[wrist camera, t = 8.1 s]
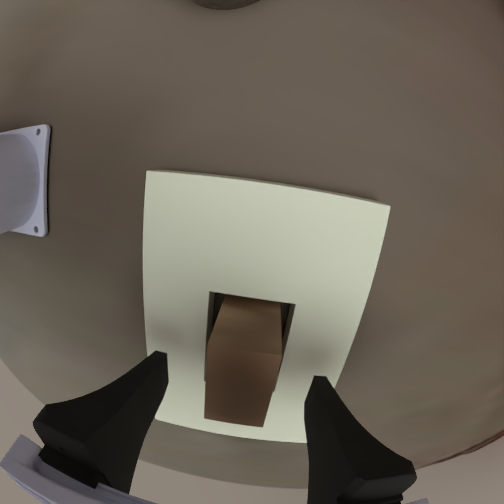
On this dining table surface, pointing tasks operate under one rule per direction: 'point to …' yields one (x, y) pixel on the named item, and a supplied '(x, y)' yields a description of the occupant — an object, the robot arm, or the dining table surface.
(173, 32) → the dining table surface
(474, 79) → the dining table surface
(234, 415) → the walnut bar
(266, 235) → the socket plate
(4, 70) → the dining table surface
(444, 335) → the dining table surface
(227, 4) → the grey round peg
